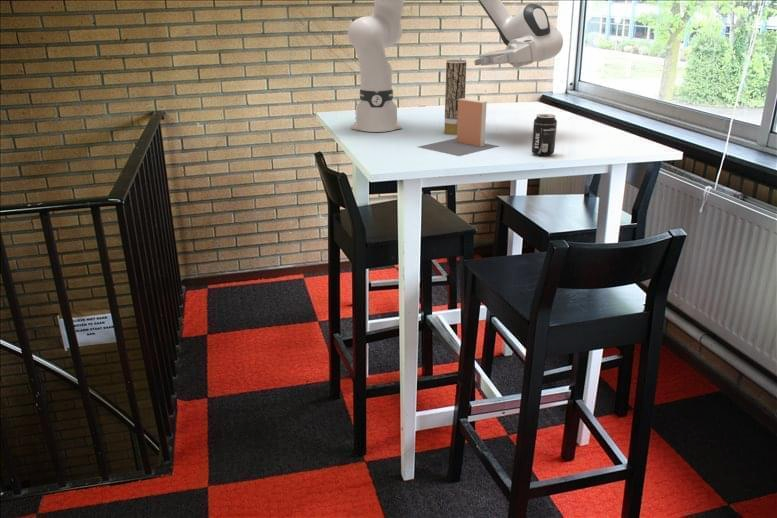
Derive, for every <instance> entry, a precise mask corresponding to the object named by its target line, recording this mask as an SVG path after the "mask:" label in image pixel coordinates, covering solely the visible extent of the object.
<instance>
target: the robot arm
mask: <svg viewBox="0 0 777 518" xmlns="http://www.w3.org/2000/svg"><path fill="white" fill-rule="evenodd" d="M405 1H406V0H373V2H374V4H373V5H374V6H373V12H372V14H371V15H368V16H361V17H358V18H357V19H355V20H354V21H351V23H350V24H349V26H348V29H347V38H348V41H349V43H350V45H351V46H352V47H353V48H354V50H355V52H356V56H357V59H358V63H359V70H360V71H359V72H360V73H359V74H360V89H359V99H360V100H359V102H358V104H357V105H356V106H355V110H354V111H355V118H354V119H355V122H354V123H352V124H351V126H350V129H351V130H356V131H362V132H370V133H377V132H378V133H382V132H383V133H384V132H391V131H395V130H402V129H403V125H402V124H400V123H399V122H398V106H397V104H396V103H395V102H394V101H393V99H394V89H393V87H392V80H393V79H392V74H393V73H392V72H393V71H392V70H393V69H392V65H391V63H390V62H389V61H388V59H387V55H386V51H385V49H386V48H390V47H392V46H394V45H395V44H397V43H398V42H399V41H400V40H401V38H402V36H403V27H402V24H401V23H402V22H401V19H402V11H403V9H404V8H403V7H404V3H405ZM477 1H478V2H479V4H480V6H481V7H482V8H483V10H484V12H485V14H486V15H487V16H488V17H489V19H490V20H491V22H492V24H493V25H494V26H495V28H496V29H497V32H498V33H499V37H500V39H501V41H502V42H503V44H504V45H505V46H506V47H505V49H498V50H494V51H489V52H484V53H481V54H479V55H478V58H477V59H475V60H474V62H473V63H474V65H475V66H495V65H503V64H505V65H506V64H509V65H510V66H513V67H514V68H516V69H517V68H518V69H519V68H521V67H525V66H528V65H532V64H533V63H536V62H537V63H539V62H543V61H547V60H550V59H551V58H554V57H556V56H557V55H558V54H559V53H560V52H561V51H562V49H563V45H564V37H563V35H562V33H561V32H560V31H559V30H557V29H556V28H554V26H553V25H552V23H551V21H550V19H549V17H548V16H549V15H548V13H547V11H546V10H545V8H544V7H543V6H541V5H539V4H537V3H530V4H527V5H525V6H524V7H523V8H522V9H521V10H520V11H518V12H517V13H516V14H515V15H514V16H513V15H511V14H510V12H509V11H508V9H507V8H506V6H505V5H504V3H503V2H502V0H477Z"/></svg>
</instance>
